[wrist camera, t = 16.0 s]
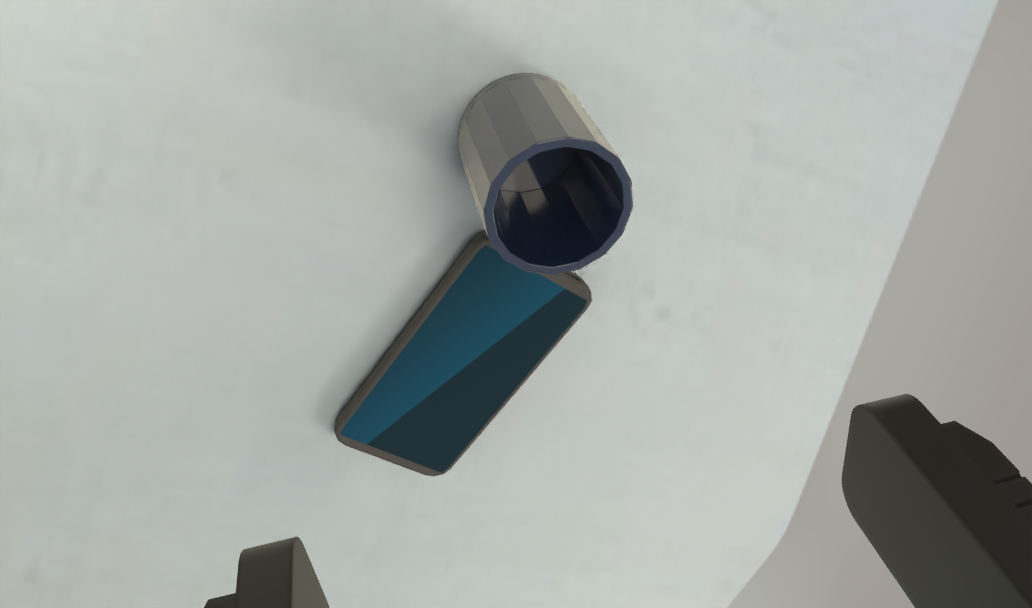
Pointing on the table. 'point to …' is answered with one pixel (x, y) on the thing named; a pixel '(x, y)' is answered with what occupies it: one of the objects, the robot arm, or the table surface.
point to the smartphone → (460, 360)
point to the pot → (542, 175)
